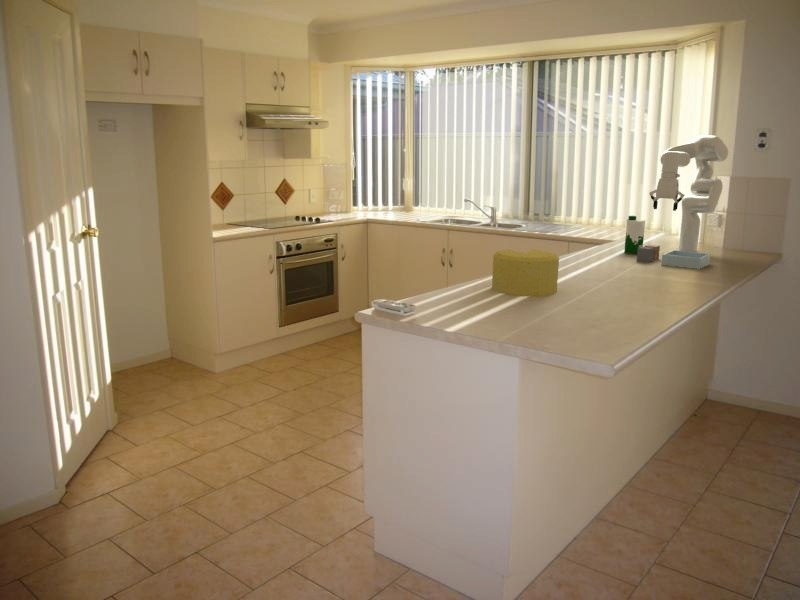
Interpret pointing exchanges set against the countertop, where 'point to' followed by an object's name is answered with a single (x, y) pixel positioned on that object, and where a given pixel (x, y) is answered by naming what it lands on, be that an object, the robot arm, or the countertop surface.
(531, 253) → the cheese
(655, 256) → the walnut block
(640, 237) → the soya milk
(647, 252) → the charcoal block
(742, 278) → the countertop surface
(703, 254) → the bin
